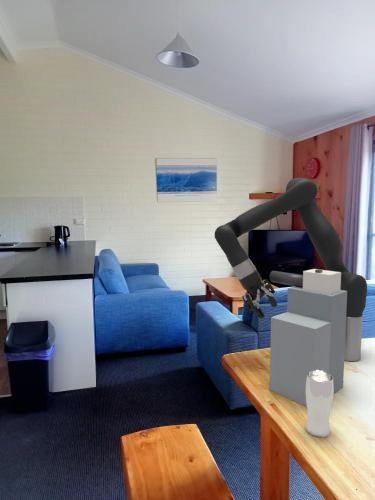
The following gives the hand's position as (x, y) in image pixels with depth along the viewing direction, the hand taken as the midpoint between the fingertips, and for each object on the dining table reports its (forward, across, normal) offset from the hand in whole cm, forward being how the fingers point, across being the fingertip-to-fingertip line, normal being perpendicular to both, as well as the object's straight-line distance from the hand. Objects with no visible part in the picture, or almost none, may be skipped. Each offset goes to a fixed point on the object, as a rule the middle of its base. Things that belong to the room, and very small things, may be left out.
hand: (269, 312), depth 129 cm
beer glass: (+25, +29, +22) cm, 44 cm away
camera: (-4, -3, +16) cm, 17 cm away
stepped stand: (+24, +11, +8) cm, 28 cm away
